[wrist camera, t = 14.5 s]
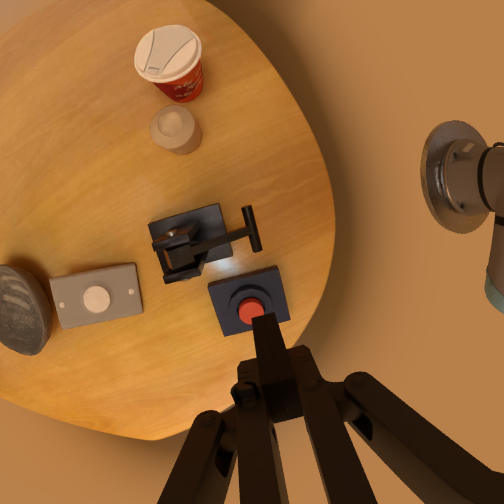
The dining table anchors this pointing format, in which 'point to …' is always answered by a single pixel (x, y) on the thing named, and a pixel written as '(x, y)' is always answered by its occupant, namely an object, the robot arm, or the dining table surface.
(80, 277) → the light switch
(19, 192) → the dining table surface
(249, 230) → the switch lever
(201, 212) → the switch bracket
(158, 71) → the paper cup
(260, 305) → the power button
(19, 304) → the bowl
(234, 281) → the control block
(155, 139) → the candle
